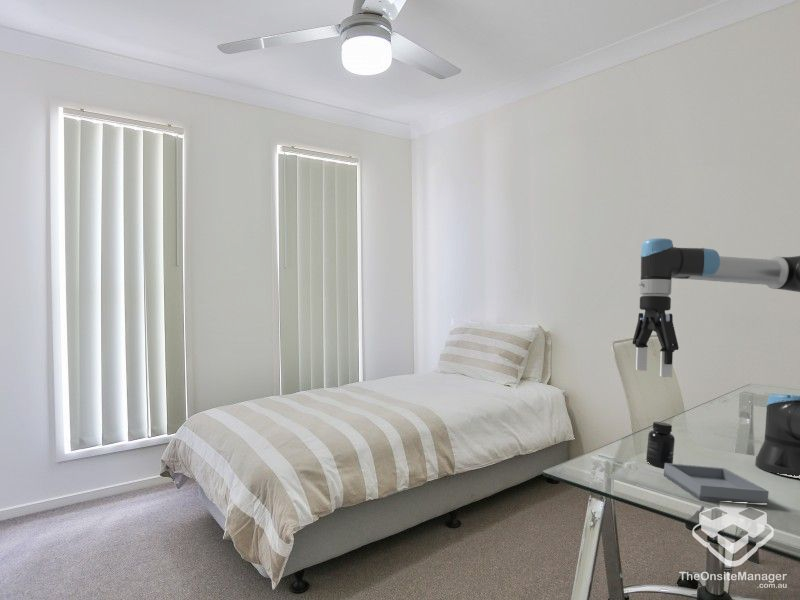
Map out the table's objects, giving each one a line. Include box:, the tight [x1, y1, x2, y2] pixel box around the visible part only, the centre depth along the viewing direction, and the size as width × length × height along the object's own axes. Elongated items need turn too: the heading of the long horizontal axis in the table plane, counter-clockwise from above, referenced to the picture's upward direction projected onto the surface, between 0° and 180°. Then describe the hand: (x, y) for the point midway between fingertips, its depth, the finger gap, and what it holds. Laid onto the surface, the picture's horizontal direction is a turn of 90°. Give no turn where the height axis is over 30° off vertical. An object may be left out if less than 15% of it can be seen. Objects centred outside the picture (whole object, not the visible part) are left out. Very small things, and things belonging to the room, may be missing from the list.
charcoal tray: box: [663, 463, 769, 503], centre depth 123 cm, size 16×16×4 cm
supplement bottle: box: [645, 421, 676, 469], centre depth 141 cm, size 7×7×12 cm
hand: (652, 373), depth 132 cm, fingers open, 13 cm apart
